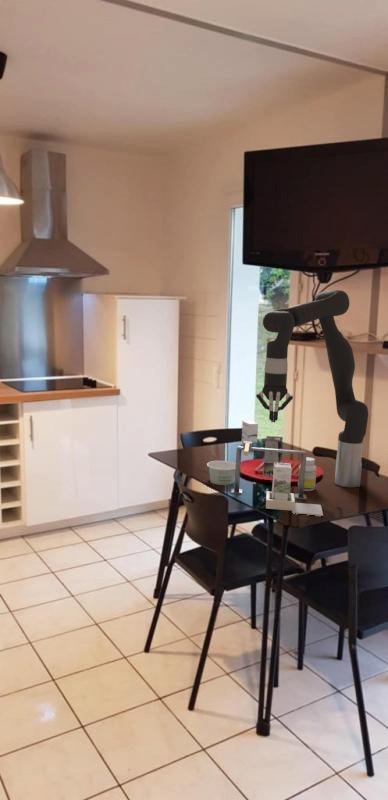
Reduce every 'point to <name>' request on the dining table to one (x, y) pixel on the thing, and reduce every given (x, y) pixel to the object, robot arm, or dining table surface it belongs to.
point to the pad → (307, 509)
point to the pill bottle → (309, 474)
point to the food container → (221, 472)
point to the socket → (280, 502)
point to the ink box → (249, 432)
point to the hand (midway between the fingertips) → (273, 421)
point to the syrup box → (281, 481)
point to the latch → (247, 447)
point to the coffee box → (272, 454)
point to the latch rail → (240, 448)
